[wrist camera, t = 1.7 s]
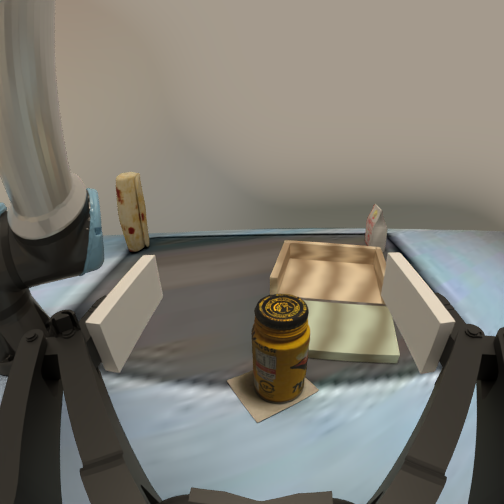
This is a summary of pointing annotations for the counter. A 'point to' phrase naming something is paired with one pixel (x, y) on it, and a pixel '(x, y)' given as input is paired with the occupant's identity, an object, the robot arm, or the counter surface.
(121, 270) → the counter surface
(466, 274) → the counter surface
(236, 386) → the condiment
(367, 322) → the open-front wooden tray
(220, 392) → the counter surface
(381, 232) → the tea bag
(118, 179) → the food model
